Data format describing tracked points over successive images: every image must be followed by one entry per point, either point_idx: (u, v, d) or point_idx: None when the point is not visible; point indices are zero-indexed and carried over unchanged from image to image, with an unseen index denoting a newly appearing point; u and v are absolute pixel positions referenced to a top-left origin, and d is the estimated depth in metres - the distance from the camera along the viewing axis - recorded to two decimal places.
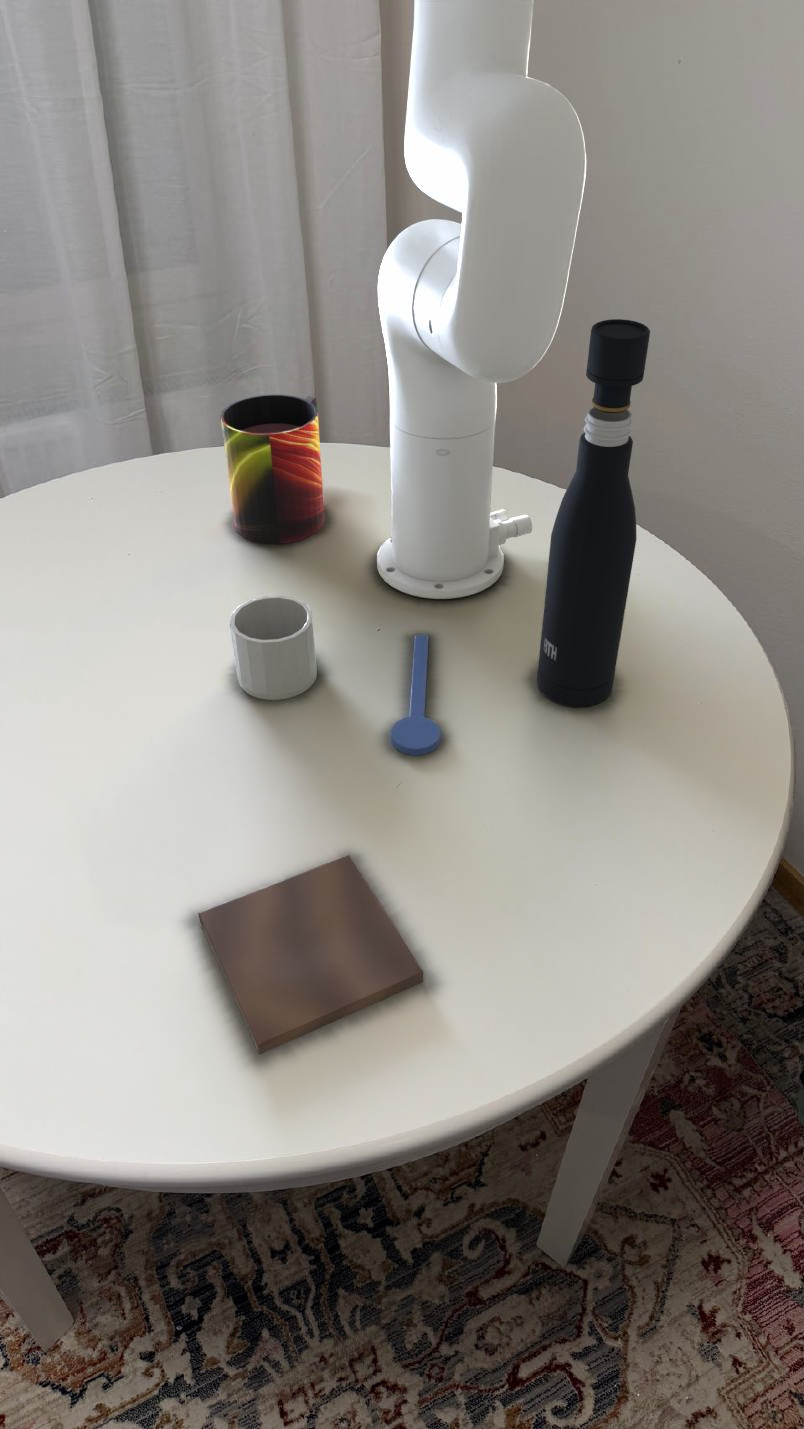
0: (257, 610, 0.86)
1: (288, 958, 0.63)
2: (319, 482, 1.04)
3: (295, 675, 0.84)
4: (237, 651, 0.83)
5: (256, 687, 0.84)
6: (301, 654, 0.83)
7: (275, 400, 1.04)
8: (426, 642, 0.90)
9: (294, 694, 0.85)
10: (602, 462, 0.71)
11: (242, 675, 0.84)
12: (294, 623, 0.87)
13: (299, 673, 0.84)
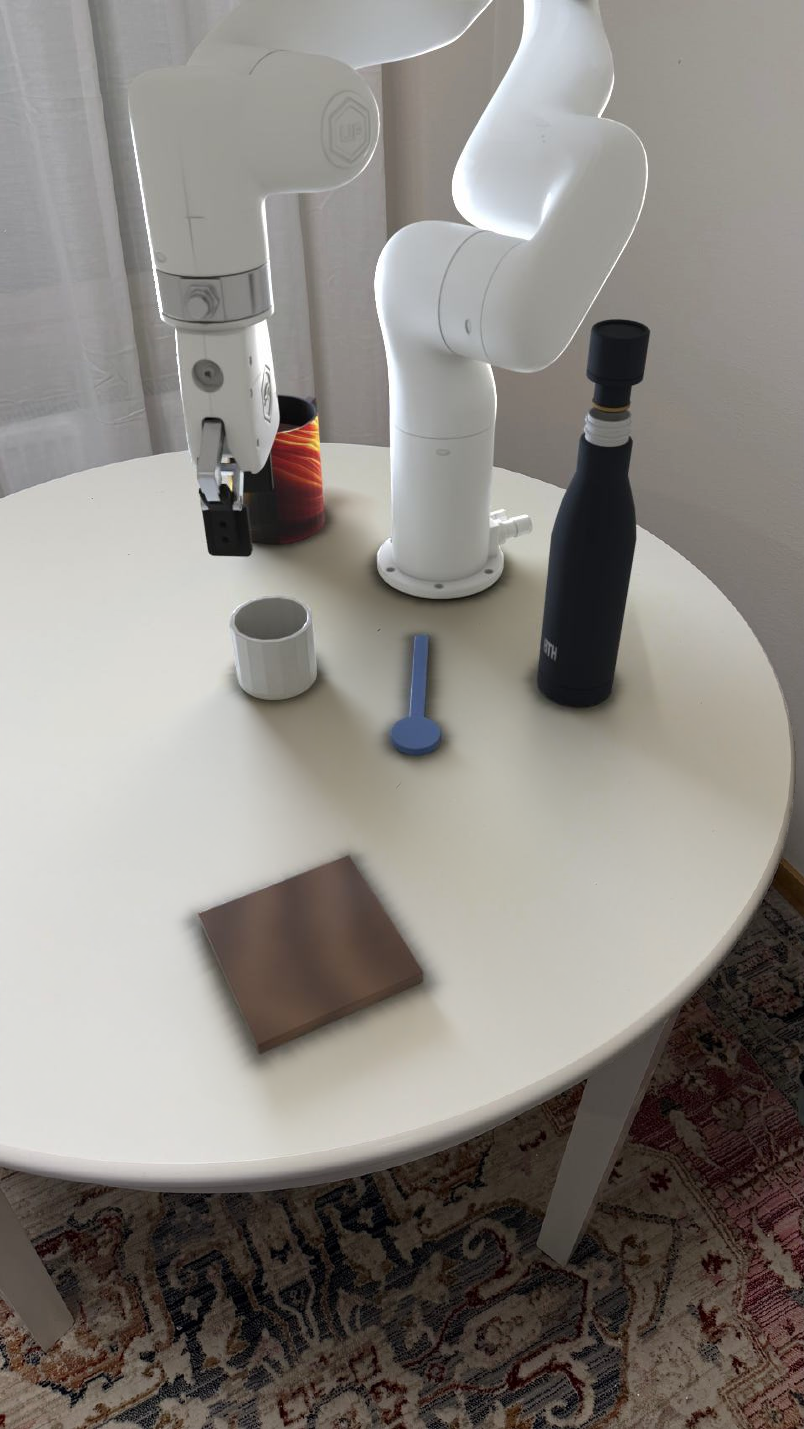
0: (257, 610, 0.86)
1: (288, 958, 0.63)
2: (319, 482, 1.04)
3: (295, 675, 0.84)
4: (237, 651, 0.83)
5: (256, 687, 0.84)
6: (301, 654, 0.83)
7: None
8: (426, 642, 0.90)
9: (294, 694, 0.85)
10: (602, 462, 0.71)
11: (242, 675, 0.84)
12: (294, 623, 0.87)
13: (299, 673, 0.84)
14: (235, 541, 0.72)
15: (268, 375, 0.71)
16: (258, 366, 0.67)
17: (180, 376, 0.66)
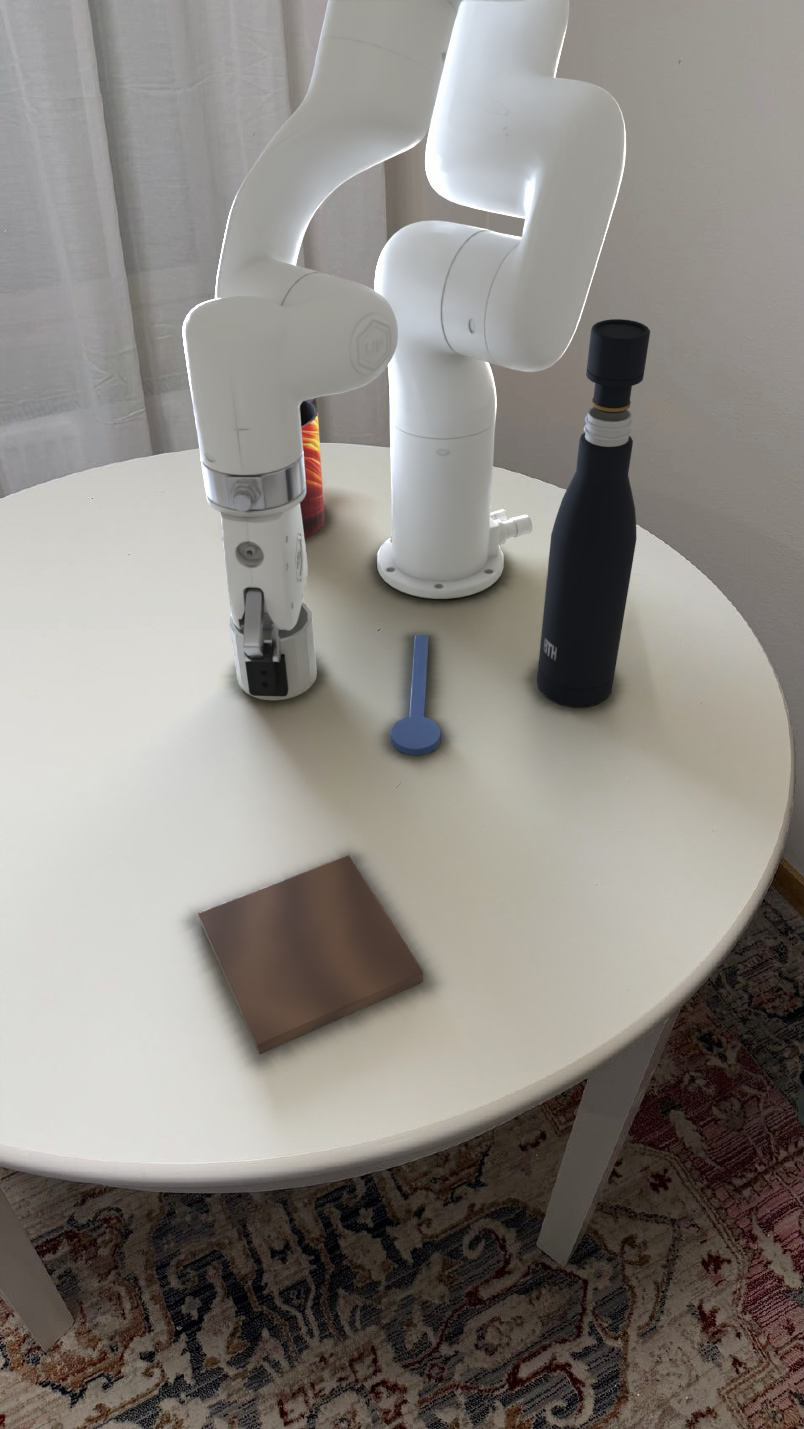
0: None
1: (288, 958, 0.63)
2: (319, 482, 1.04)
3: (295, 675, 0.84)
4: (237, 651, 0.83)
5: None
6: (301, 654, 0.83)
7: None
8: (426, 642, 0.90)
9: (294, 694, 0.85)
10: (602, 462, 0.71)
11: (242, 675, 0.84)
12: None
13: (299, 673, 0.84)
14: (274, 685, 0.82)
15: (300, 540, 0.80)
16: (292, 540, 0.76)
17: (225, 553, 0.74)
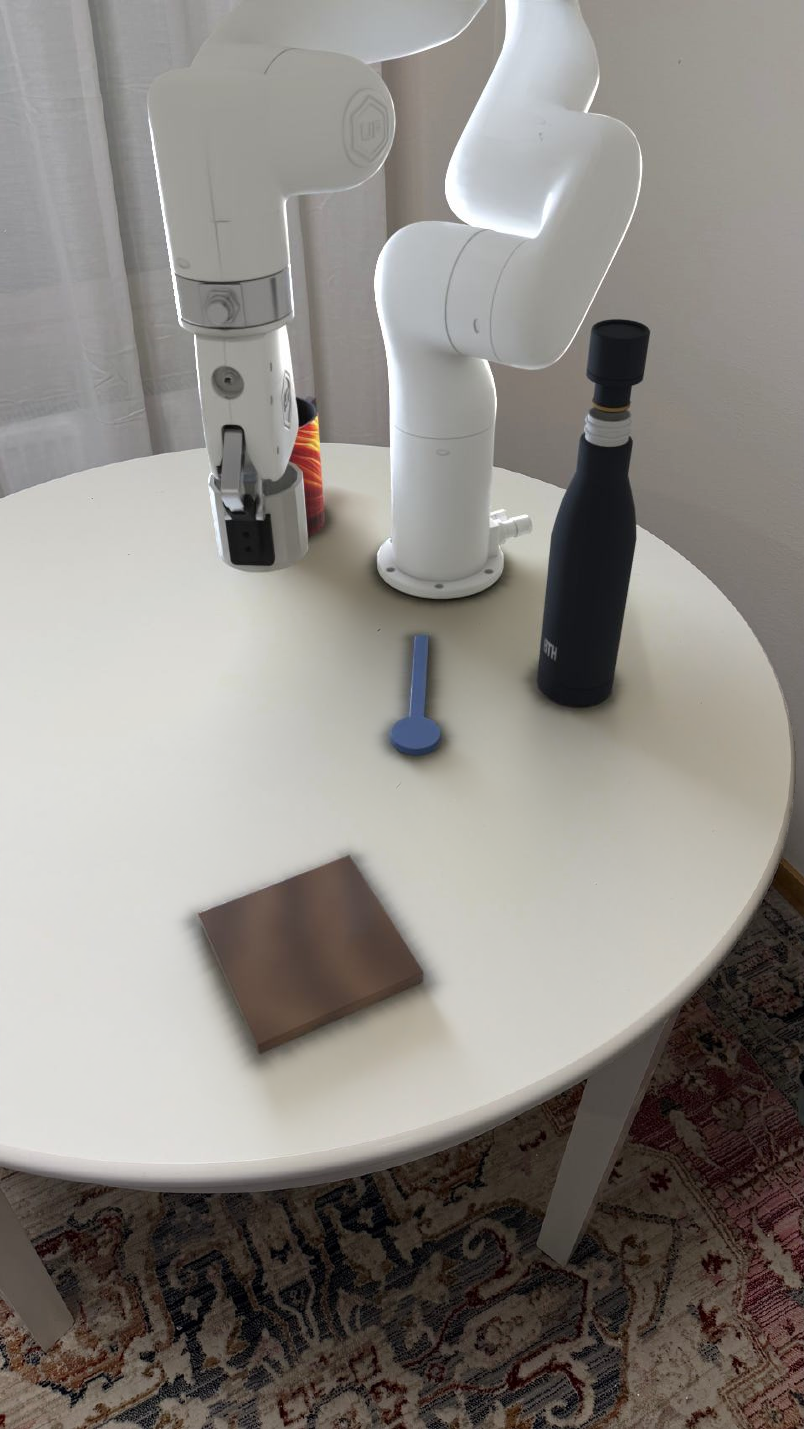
0: None
1: (288, 958, 0.63)
2: (319, 482, 1.04)
3: (282, 543, 0.74)
4: (217, 514, 0.73)
5: None
6: (289, 517, 0.73)
7: None
8: (426, 642, 0.90)
9: (281, 566, 0.75)
10: (602, 462, 0.71)
11: (223, 544, 0.74)
12: (283, 489, 0.77)
13: (287, 541, 0.74)
14: (258, 550, 0.72)
15: (288, 381, 0.70)
16: (278, 372, 0.66)
17: (199, 383, 0.64)
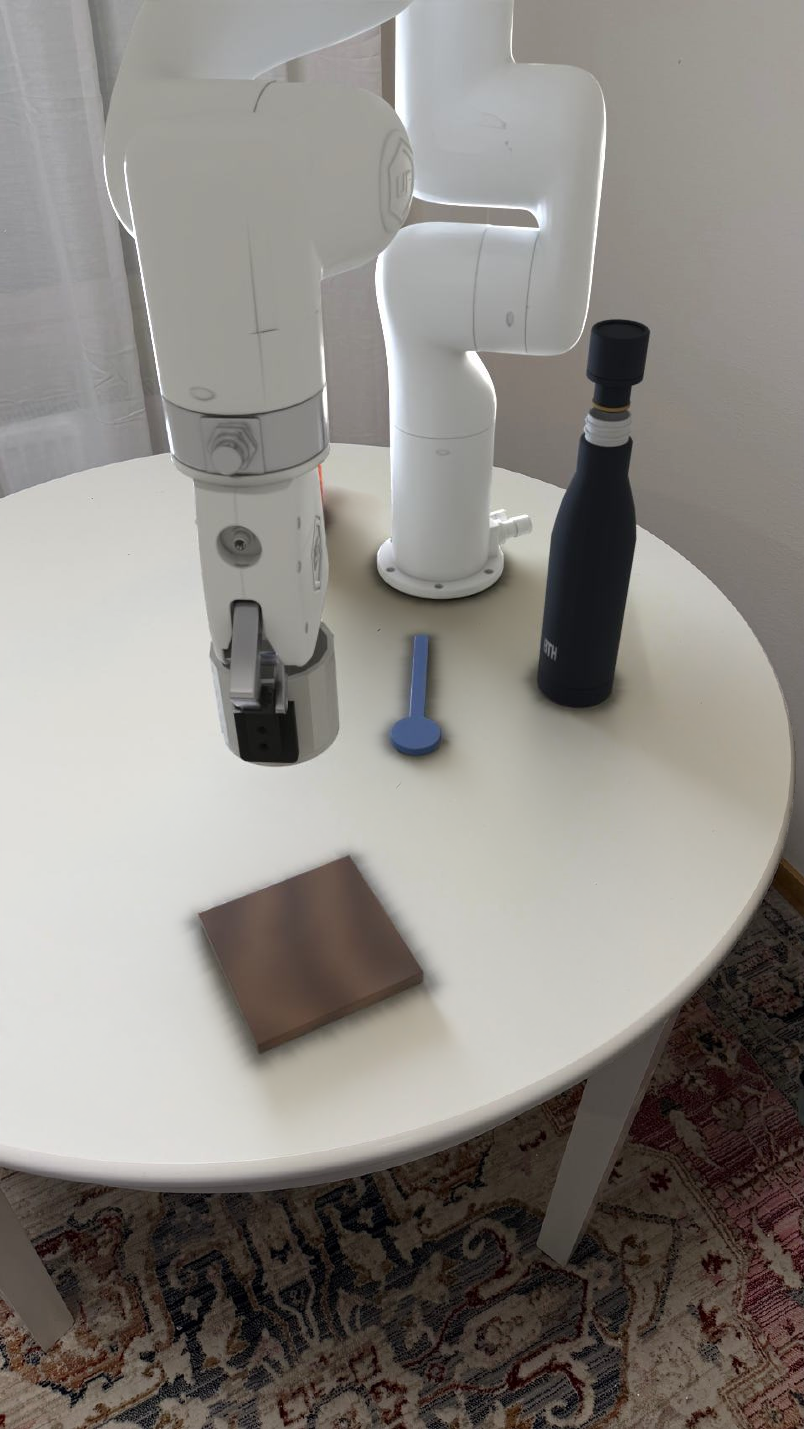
0: None
1: (288, 958, 0.63)
2: None
3: (308, 731, 0.55)
4: (221, 695, 0.55)
5: None
6: (317, 699, 0.55)
7: None
8: (426, 642, 0.90)
9: (306, 758, 0.57)
10: (602, 462, 0.71)
11: (228, 730, 0.56)
12: None
13: (314, 728, 0.56)
14: (278, 748, 0.54)
15: (318, 526, 0.52)
16: (308, 525, 0.48)
17: (200, 545, 0.46)
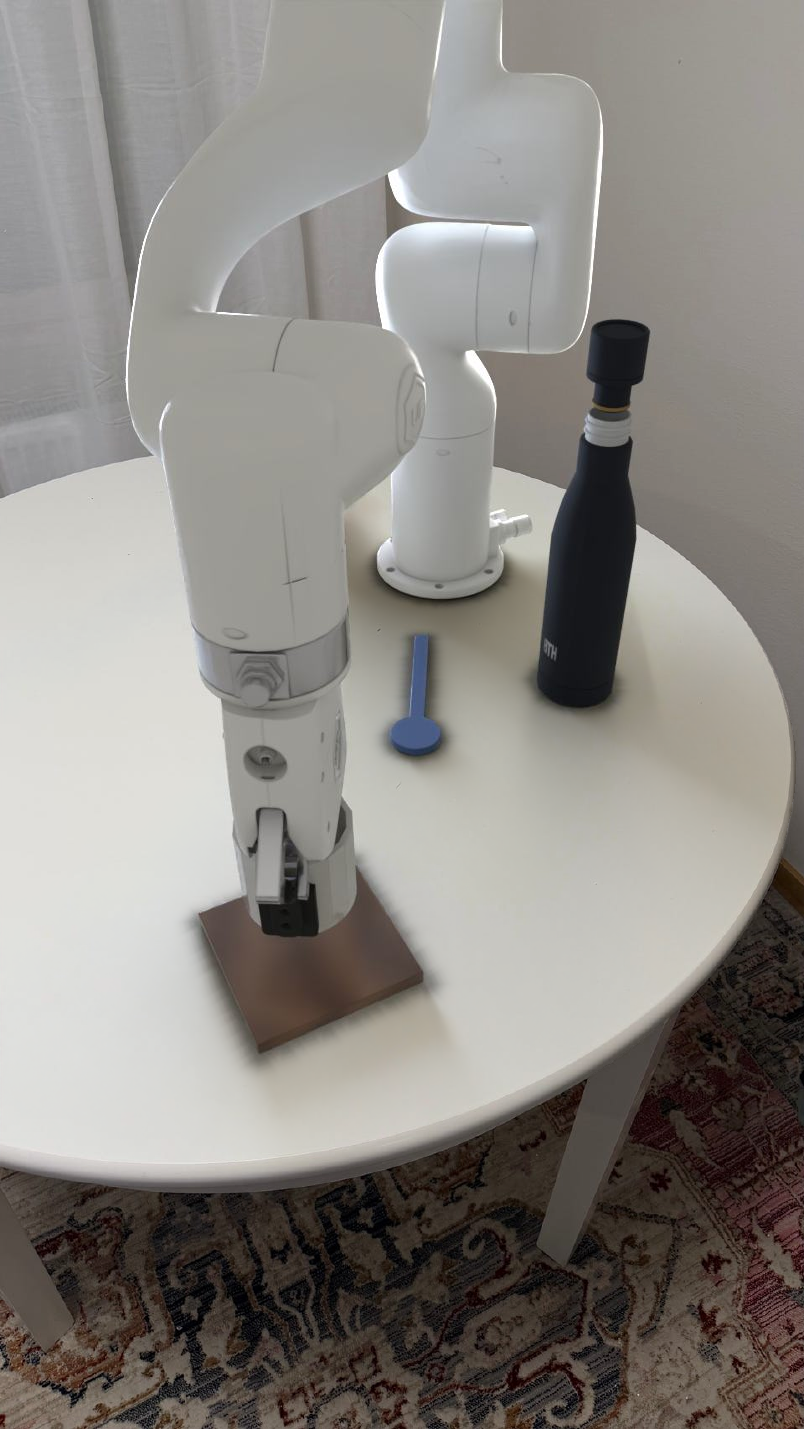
0: None
1: (288, 958, 0.63)
2: None
3: (327, 904, 0.57)
4: (243, 872, 0.57)
5: None
6: (336, 876, 0.57)
7: None
8: (426, 642, 0.90)
9: (325, 928, 0.59)
10: (602, 462, 0.71)
11: (250, 902, 0.58)
12: None
13: (333, 901, 0.58)
14: (299, 927, 0.55)
15: (338, 719, 0.54)
16: (330, 731, 0.50)
17: (227, 760, 0.48)
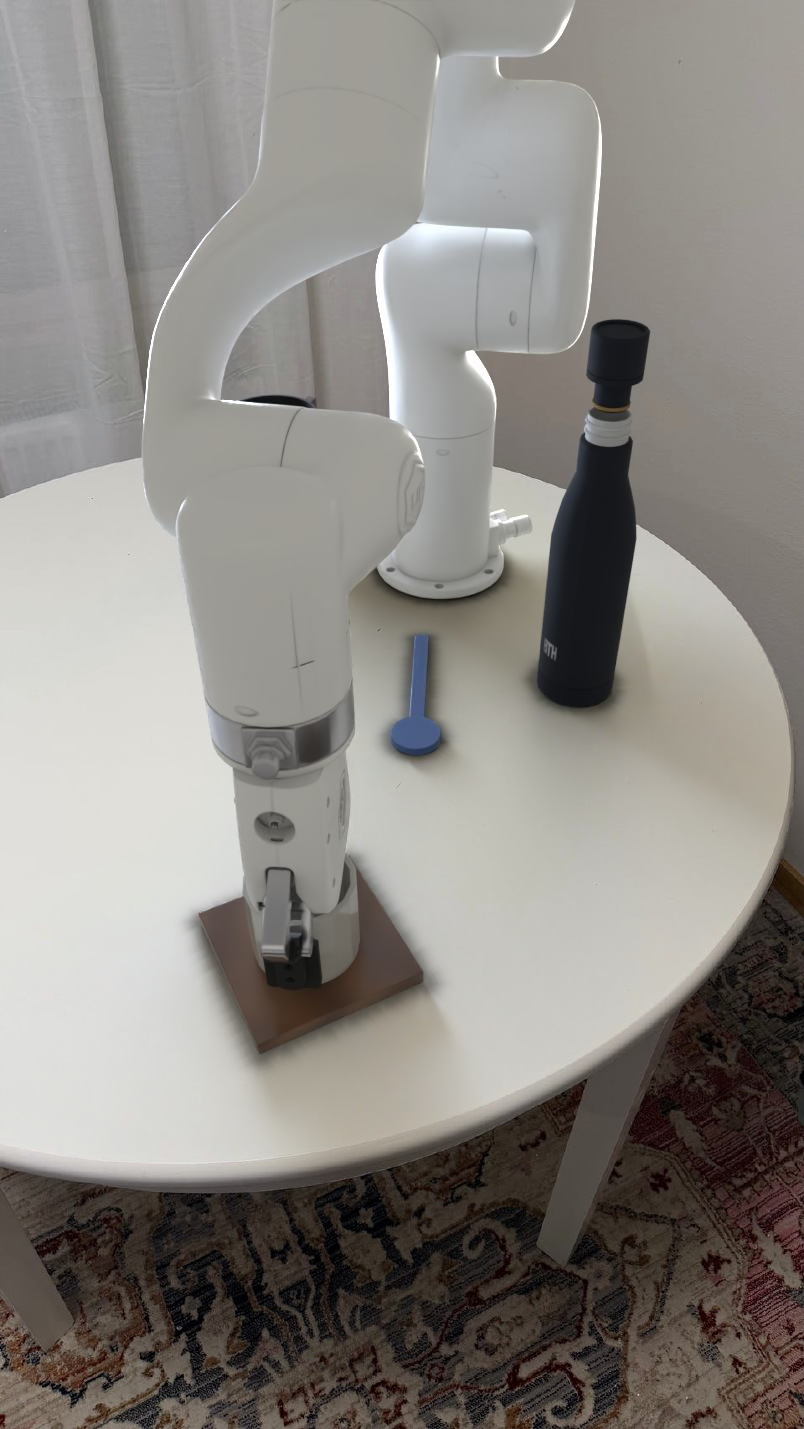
0: None
1: None
2: None
3: (333, 957, 0.61)
4: (253, 927, 0.60)
5: None
6: (341, 931, 0.60)
7: (275, 400, 1.04)
8: (426, 642, 0.90)
9: (330, 978, 0.62)
10: (602, 462, 0.71)
11: (259, 954, 0.61)
12: None
13: (338, 953, 0.61)
14: (303, 981, 0.57)
15: (343, 778, 0.57)
16: (335, 794, 0.53)
17: (239, 823, 0.51)
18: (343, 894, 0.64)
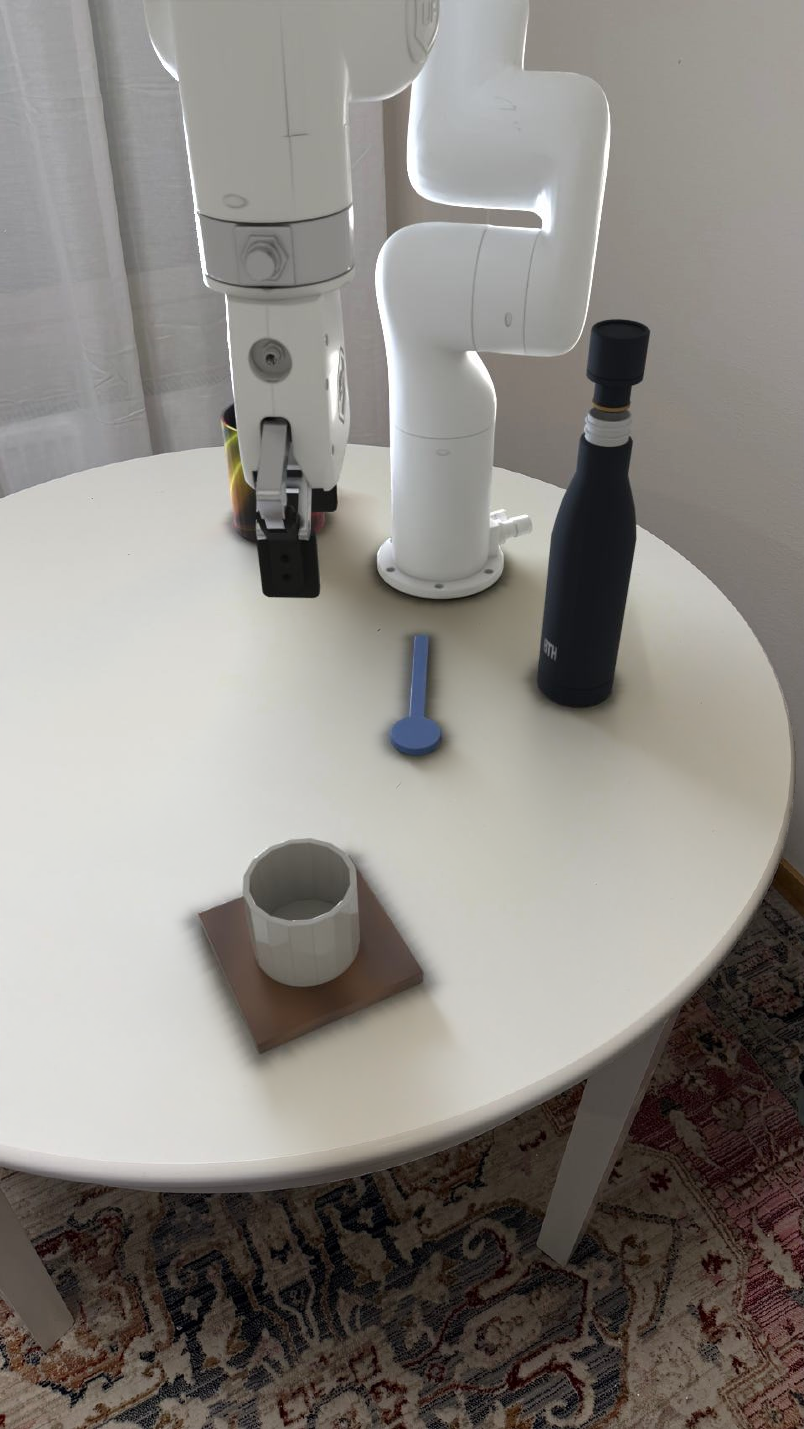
0: (279, 858, 0.63)
1: None
2: None
3: (333, 957, 0.61)
4: (253, 927, 0.60)
5: (279, 972, 0.61)
6: (341, 931, 0.60)
7: None
8: (426, 642, 0.90)
9: (330, 978, 0.62)
10: (602, 462, 0.71)
11: (259, 954, 0.61)
12: (329, 872, 0.64)
13: (338, 953, 0.61)
14: (300, 579, 0.55)
15: (342, 361, 0.54)
16: (334, 348, 0.50)
17: (232, 361, 0.49)
18: (343, 894, 0.64)
